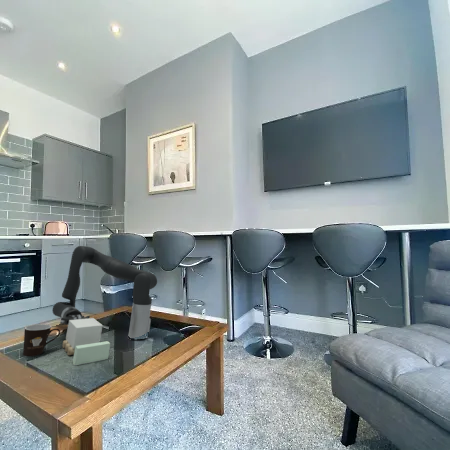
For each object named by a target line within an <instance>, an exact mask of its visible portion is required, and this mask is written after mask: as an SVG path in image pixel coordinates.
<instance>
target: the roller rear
mask: <svg viewBox="0 0 450 450" xmlns="http://www.w3.org/2000/svg"><path fill="white" fill-rule="evenodd" d="M66 344H69V343H68V341H67V340H66V339H65V340H63V341H62V349H65V345H66Z"/></svg>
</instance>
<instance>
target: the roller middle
mask: <svg viewBox="0 0 450 450" xmlns="http://www.w3.org/2000/svg"><path fill="white" fill-rule="evenodd" d="M68 347H71V345H70V344H66V345H65V348H64V352H65V353H67V350H68Z"/></svg>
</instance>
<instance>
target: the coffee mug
mask: <svg viewBox="0 0 450 450" xmlns="http://www.w3.org/2000/svg"><path fill="white" fill-rule="evenodd" d="M51 328H52V325H50V324H45V323H39V324H37V323H36V324H30V325H28V326H27V325H26V326H25V327H24V335H23V352H22V355H23V356H24V357H36V356H40V355H42V354H43V353H44V350H45V348H46V346H47V345H48V344H50V343H51V342H53V341H55V340H56V339H57V338H58V337H59V336H60V335H61V330H60V329H59V328H53V329H51ZM54 331H57V332H58V334H57V335H56V336H55V337H54V338H52V339H51V340H49V341H48V338H49V335H50V334H51V333H52V332H54Z"/></svg>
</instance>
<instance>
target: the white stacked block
mask: <svg viewBox="0 0 450 450" xmlns="http://www.w3.org/2000/svg"><path fill="white" fill-rule="evenodd" d="M102 330H103V324H102V323H100V322H99V321H97V319H95V318H94V317H90V318H88V319H77V320H69V324H68V325H67V330H66V335H65V340H67V341H68V343H69V344H70V345H71V347H72V348H73V349H74V348H75V346H79V345H86V344H92V343H99V342H101V337H102Z"/></svg>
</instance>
